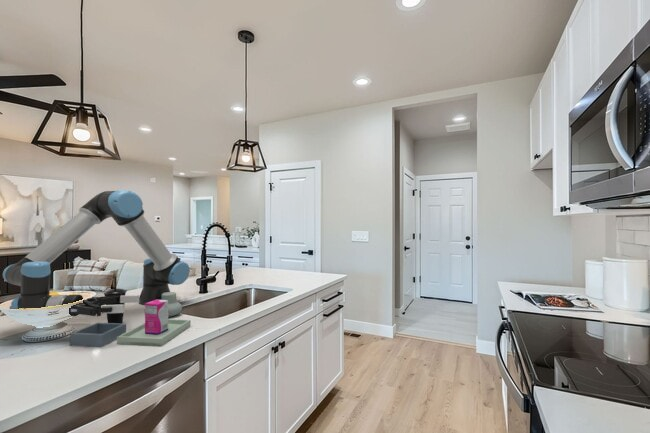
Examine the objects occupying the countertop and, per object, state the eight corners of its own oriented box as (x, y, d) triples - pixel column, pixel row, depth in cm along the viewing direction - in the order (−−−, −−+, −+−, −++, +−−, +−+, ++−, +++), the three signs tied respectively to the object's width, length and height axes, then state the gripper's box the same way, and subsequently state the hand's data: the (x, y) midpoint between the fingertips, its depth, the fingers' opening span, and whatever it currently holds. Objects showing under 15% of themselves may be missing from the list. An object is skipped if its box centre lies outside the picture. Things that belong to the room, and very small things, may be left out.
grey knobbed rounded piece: (151, 317, 135) (151, 294, 136) (164, 311, 144) (165, 290, 144) (172, 319, 133) (173, 296, 133) (185, 313, 141) (185, 292, 141)
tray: (153, 324, 126) (153, 318, 126) (190, 326, 125) (190, 320, 125) (116, 344, 106) (116, 336, 106) (160, 346, 105) (161, 339, 105)
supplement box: (155, 328, 119) (156, 299, 119) (168, 329, 118) (169, 300, 118) (143, 333, 113) (144, 302, 114) (157, 335, 112) (158, 304, 112)
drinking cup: (115, 329, 120) (114, 278, 120) (98, 328, 121) (98, 277, 121) (131, 322, 127) (130, 274, 127) (115, 321, 129) (115, 274, 129)
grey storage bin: (97, 333, 116) (97, 322, 116) (125, 334, 115) (126, 323, 115) (69, 345, 104) (70, 333, 105) (101, 347, 104) (101, 335, 104)
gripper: (85, 306, 122) (144, 304, 126) (41, 328, 98) (115, 324, 102) (86, 287, 122) (144, 286, 126) (42, 304, 98) (116, 302, 102)
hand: (131, 303), depth 114 cm, fingers open, 13 cm apart
